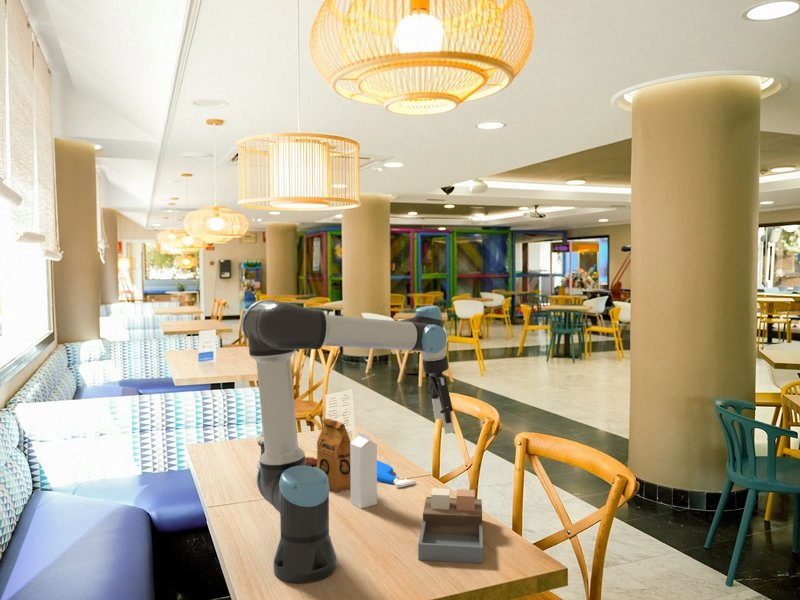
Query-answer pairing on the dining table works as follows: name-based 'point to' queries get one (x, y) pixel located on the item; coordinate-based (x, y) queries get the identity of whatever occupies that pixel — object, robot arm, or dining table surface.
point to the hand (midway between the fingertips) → (444, 425)
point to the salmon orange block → (465, 500)
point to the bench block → (452, 519)
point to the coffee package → (334, 454)
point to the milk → (363, 471)
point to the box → (450, 547)
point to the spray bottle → (390, 476)
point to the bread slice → (311, 457)
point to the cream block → (440, 498)
